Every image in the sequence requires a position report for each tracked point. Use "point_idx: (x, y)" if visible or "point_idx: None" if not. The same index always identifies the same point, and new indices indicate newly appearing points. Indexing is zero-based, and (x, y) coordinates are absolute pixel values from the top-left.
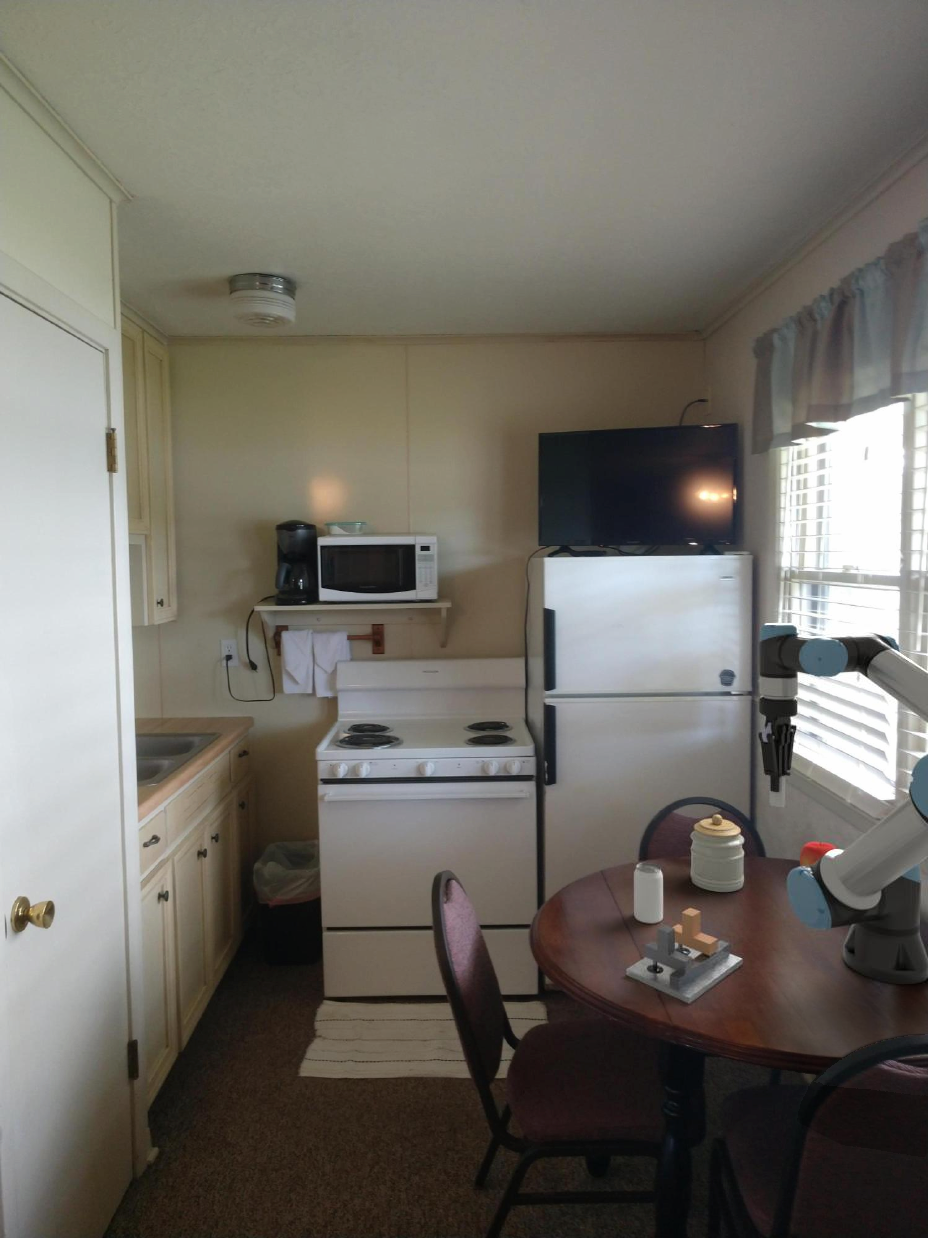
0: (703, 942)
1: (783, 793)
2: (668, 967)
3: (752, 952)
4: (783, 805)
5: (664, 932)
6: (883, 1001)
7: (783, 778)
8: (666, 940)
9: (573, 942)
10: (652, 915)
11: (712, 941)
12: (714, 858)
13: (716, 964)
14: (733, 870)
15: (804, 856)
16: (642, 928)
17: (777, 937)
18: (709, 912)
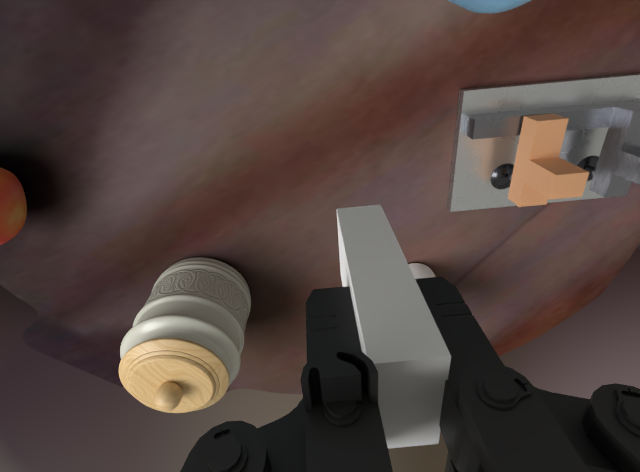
0: (563, 133)
1: (378, 253)
2: (571, 158)
3: (402, 103)
4: (361, 211)
5: None
6: None
7: (416, 346)
8: None
9: (550, 293)
10: (431, 273)
11: (554, 122)
12: (233, 318)
13: (514, 110)
14: (204, 283)
15: (4, 230)
16: (448, 265)
17: (311, 105)
18: (318, 237)
